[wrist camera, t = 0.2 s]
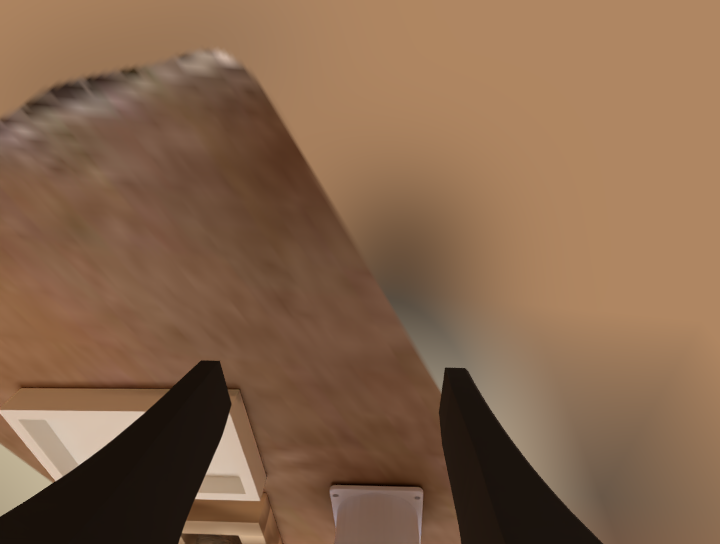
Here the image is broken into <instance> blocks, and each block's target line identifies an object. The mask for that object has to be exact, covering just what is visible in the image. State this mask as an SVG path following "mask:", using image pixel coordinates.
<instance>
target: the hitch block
mask: <svg viewBox="0 0 720 544" xmlns="http://www.w3.org/2000/svg"><path fill="white" fill-rule="evenodd" d="M198 534H216V535H239V537H240V540H241V543H240V544H283V543H282V540H281V537H280V534H279V530H278V527H277V524H276V521H275V518H274V515H273V512H272V509H271V506H270V503H269V500H268V497H267V494H266V493H262V497H261V501H240V500H205V499H195V500H194V502H193V505H192V507H191V510H190V512H189V515H188V517H187V520H186V522H185V525H184V528H183V531H182V534H181V537H180V540H179V543H178V544H195V542H196V540H197V537H198Z"/></svg>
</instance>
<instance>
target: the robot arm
mask: <svg viewBox="0 0 720 544" xmlns="http://www.w3.org/2000/svg"><path fill="white" fill-rule="evenodd" d="M231 405H232V403H231V400H230V396H229V393H228V389H227V386H226V382H225V378H224V375H223V371H222V368H221V364H220V361H202V360H201V361H200V362H199V363H198V364H197V365H196V366H195V367H194V368H193V369H192V370H190V371H189V372H188V373H187V374H186V375H185V376H184V377H183V378H182V379H181V380H180V381H179V382H178V383H177V384H175V385H174V386H173V387H172V388H171V389H170V390H169V391H168V392H167V393H166V394H165V395H164V396H163V397H161V398H160V399H159V400H158V401H157V402H156V403H155V404H154V405H153V406H152V407H150V408H149V409H148V410H147V411H146V412H145V413H144V414H143V415H142V416H140V417H139V418H138V419H137V420H136V421H134V422H133V423H132V424H131V425H130V426H128V427H127V428H126V429H125V430H124V431H123V432H121V433H120V434H119V435H118V436H117V437H115V438H114V439H113V440H112V441H110V442H109V443H108V444H107V445H105V446H104V447H103V448H102V449H100V450H99V451H98V452H96V453H95V454H94V455H92V456H91V457H90V458H88V459H87V460H85V461H84V462H83V463H81V464H80V465H79V466H77V467H76V468H75V469H73V470H72V471H70V472H69V473H67V474H66V475H64V476H63V477H61V478H60V479H58V480H57V481H55V482H54V483H52V484H51V485H49V486H48V487H46V488H45V489H43V490H42V491H40V492H39V493H37V494H36V495H34V496H33V497H31V498H30V499H28V500H27V501H25V502H23V503H22V504H20V505H19V506H17V507H15V508H14V509H12V510H10V511H9V512H7V513H6V514H4V515H2V516H1V517H0V544H178V543H179V540H180V537H181V534H182V531H183V528H184V525H185V522H186V520H187V517H188V515H189V512H190V510H191V507H192V505H193V502H194V500H195V498H196V496H197V493H198V491H199V489H200V486H201V484H202V482H203V480H204V477H205V475H206V473H207V470H208V468H209V466H210V464H211V461H212V459H213V457H214V454H215V452H216V450H217V447H218V445H219V443H220V440H221V438H222V435H223V432H224V429H225V426H226V423H227V419H228V416H229V412H230V409H231ZM439 416H440V427H441V437H442V445H443V451H444V456H445V460H446V465H447V470H448V475H449V480H450V485H451V490H452V495H453V499H454V504H455V509H456V514H457V519H458V524H459V530H460V536H461V544H603V543H602V542H601V541H600V540H599V539H598V538H597V537H596V536H595V535H594V534H593V533H592V532H591V531H590V530H589V529H588V528H587V527H586V526H585V525H584V524H583V523H582V522H581V521H580V520H579V519H578V518H577V517H576V516H575V515H574V514H573V513H572V512H571V511H570V510H569V509H568V508H567V506H566V505H565V504H564V503H563V502H562V501H561V500H560V499H559V498H558V497H557V496H556V494H555V493H554V492H553V491H552V490H551V489H550V488H549V486H548V485H547V484H546V483H545V482H544V481H543V479H542V478H541V477H540V476H539V475H538V474H537V472H536V471H535V470H534V469H533V467H532V466H531V465H530V464H529V462H528V461H527V460H526V459H525V457H524V456H523V455H522V453H521V452H520V451H519V449H518V448H517V447H516V446H515V444H514V443H513V441H512V440H511V439H510V437H509V436H508V434H507V433H506V432H505V430H504V429H503V427H502V426H501V424H500V423H499V421H498V420H497V419H496V417H495V416H494V414H493V413H492V411H491V410H490V408H489V406H488V405H487V403H486V402H485V400H484V398H483V397H482V395H481V393H480V392H479V390H478V388H477V387H476V385H475V383H474V381H473V380H472V378H471V376H470V374H469V372H468V371H467V370H466V369H465V368H445V372H444V381H443V387H442V394H441V402H440V409H439ZM330 497H331V503H332V509H333V515H334V521H335V526H336V532H335V542H334V544H420V543H421V526H422V509H423V489H422V488H420V487H395V486H356V485H333V486H331V487H330Z"/></svg>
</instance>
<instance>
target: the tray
mask: <svg viewBox="0 0 720 544" xmlns="http://www.w3.org/2000/svg"><path fill="white" fill-rule="evenodd" d="M169 390H170V389H87V388H20V389H19V390H18V391H17V392H16V393H15V394H14V395H13V396H12V397H11V398H10V399H9V400H8V401H7V402H5V403H4V404H3V405H2V406H1V407H0V414H1V415H2V416H3V417H4V418H5V420H6V421H7V422H8V423H9V425H10V426H11V427H12V428H13V429H14V431H15V432H16V433H17V434H18V436H19V437H20V438H21V439H22V441H23V442H24V443H25V444H26V445H27V447H28V448H29V449H30V450H31V452H32V453H33V454H34V455H35V456H36V458H37V459H38V460H39V461H40V463H41V464H42V465H43V466H44V467H45V469H46V470H47V471H48V472H49V474H50V475H51V476H52V477H53V479H54V480H55V481H57V480H58V479H60V478H61V477H63V476H64V475H66V474H67V473H69V472H70V471H72V470H73V469H75V468H76V467H77V466H79V465H80V464H81V463H83V462H84V461H85V460H87V459H88V458H90V457H91V456H92V455H94V454H95V453H96V452H98V451H99V450H100V449H102V448H103V447H104V446H105V445H107V444H108V443H109V442H110V441H112V440H113V439H114V438H115V437H117V436H118V435H119V434H120V433H121V432H123V431H124V430H125V429H126V428H127V427H128V426H130V425H131V424H132V423H133V422H134V421H136V420H137V419H138V418H139V417H140V416H142V415H143V414H144V413H145V412H146V411H147V410H148V409H149V408H150V407H152V406H153V405H154V404H155V403H156V402H157V401H158V400H159V399H160V398H161V397H163V396H164V395H165V394H166V393H167V392H168V391H169ZM228 393H229V396H230V400H231V403H232V405H231V409H230V412H229V416H228V419H227V423H226V426H225V429H224V432H223V435H222V438H221V440H220V443H219V445H218V447H217V450H216V452H215V454H214V457H213V459H212V461H211V464H210V466H209V468H208V470H207V473H206V475H205V477H204V480H203V482H202V484H201V486H200V489H199V491H198V493H197V496H196V498H195V499H205V500H240V501H261V497H262V493H263V489H264V486H265V482H266V478H267V476H266V473H265V470H264V467H263V464H262V460H261V457H260V454H259V451H258V448H257V444H256V441H255V438H254V435H253V432H252V428H251V425H250V422H249V419H248V416H247V412H246V409H245V406H244V403H243V400H242V396H241V393H240V390H239V389H228Z"/></svg>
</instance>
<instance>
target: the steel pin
mask: <svg viewBox="0 0 720 544" xmlns="http://www.w3.org/2000/svg"><path fill="white" fill-rule="evenodd" d="M240 543H241V540H240V537H239V535H216V534H198V537H197V540H196V542H195V544H240Z"/></svg>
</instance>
